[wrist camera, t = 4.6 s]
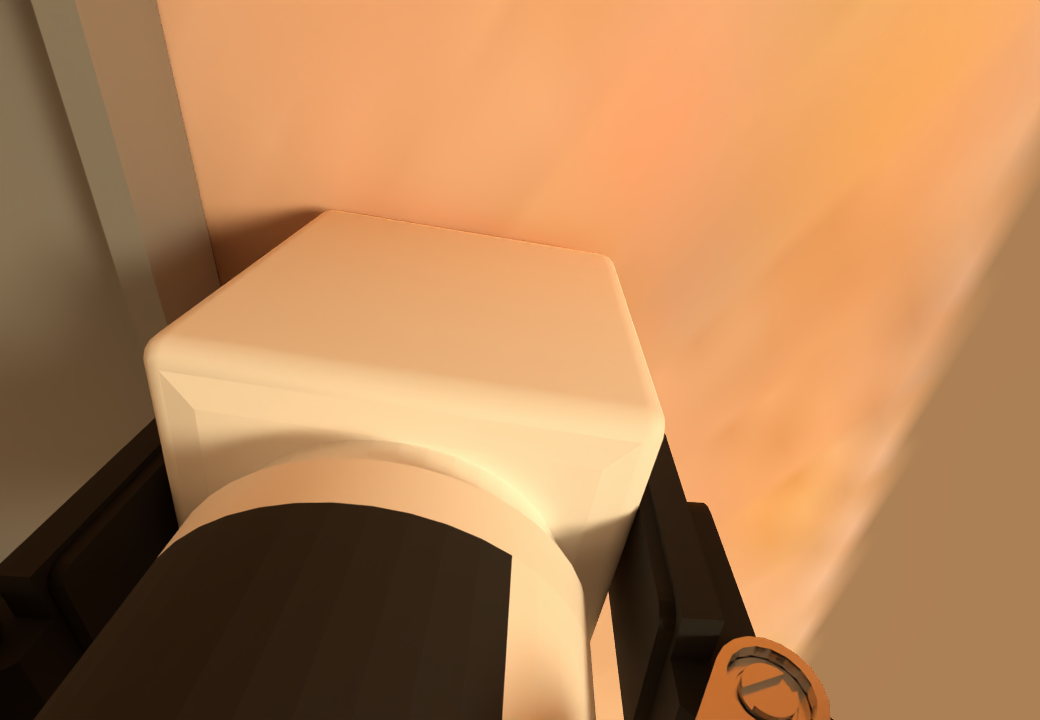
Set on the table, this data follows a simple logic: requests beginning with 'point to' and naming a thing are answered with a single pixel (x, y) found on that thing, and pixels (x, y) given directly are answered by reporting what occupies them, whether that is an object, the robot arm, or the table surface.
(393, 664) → the medicine bottle
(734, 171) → the table surface
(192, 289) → the gray tray
